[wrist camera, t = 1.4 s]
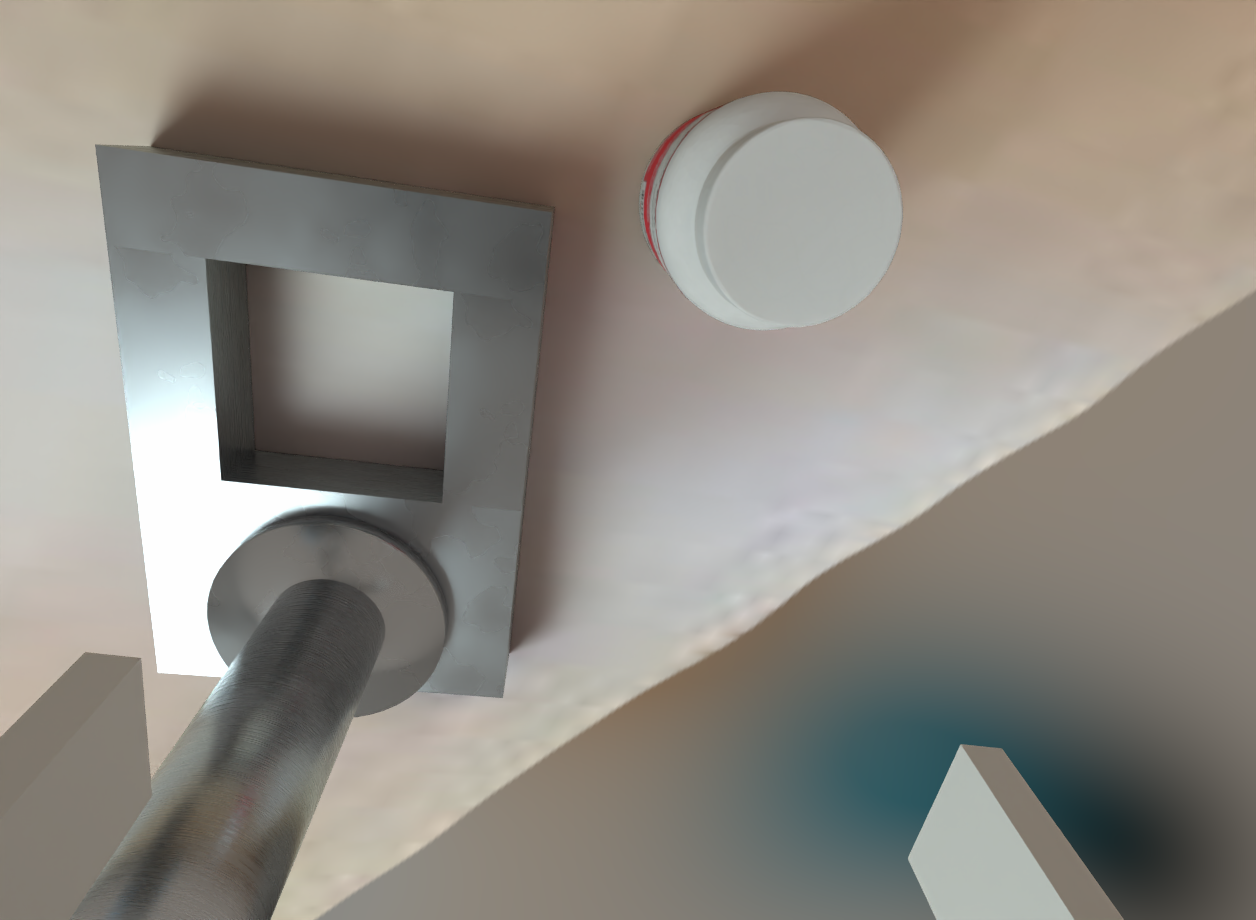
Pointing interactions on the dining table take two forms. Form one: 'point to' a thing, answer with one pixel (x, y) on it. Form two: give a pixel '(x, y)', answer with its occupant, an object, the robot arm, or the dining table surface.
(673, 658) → the dining table surface
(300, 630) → the rosette post
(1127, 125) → the dining table surface
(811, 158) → the pill bottle
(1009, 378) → the dining table surface
